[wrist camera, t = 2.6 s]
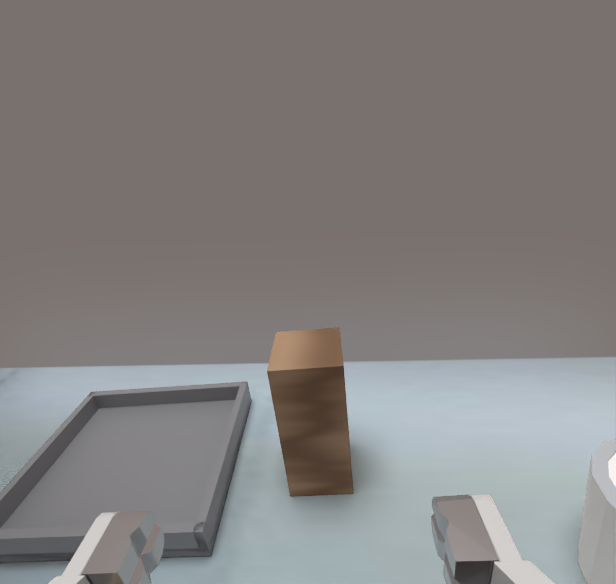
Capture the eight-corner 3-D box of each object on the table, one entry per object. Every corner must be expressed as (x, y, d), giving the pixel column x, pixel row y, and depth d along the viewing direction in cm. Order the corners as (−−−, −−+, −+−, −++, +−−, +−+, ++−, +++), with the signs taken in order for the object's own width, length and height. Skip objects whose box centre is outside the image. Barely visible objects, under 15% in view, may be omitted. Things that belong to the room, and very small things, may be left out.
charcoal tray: (-25, 563, 23) (-44, 540, 22) (99, 410, 36) (91, 392, 35) (210, 555, 22) (202, 531, 21) (251, 401, 34) (247, 381, 33)
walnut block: (290, 496, 25) (267, 371, 20) (294, 445, 29) (276, 332, 24) (353, 493, 24) (343, 366, 20) (348, 442, 28) (339, 327, 24)
